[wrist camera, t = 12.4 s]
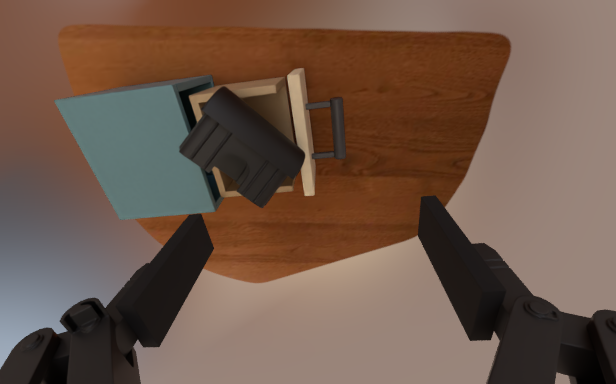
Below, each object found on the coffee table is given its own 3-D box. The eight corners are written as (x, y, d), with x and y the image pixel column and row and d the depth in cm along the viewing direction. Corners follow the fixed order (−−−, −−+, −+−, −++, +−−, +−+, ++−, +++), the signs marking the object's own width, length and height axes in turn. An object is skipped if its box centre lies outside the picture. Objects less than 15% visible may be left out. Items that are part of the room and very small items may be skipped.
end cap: (296, 149, 31) (313, 154, 25) (260, 197, 31) (268, 214, 25) (224, 90, 28) (223, 79, 22) (183, 144, 28) (170, 148, 22)
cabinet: (211, 74, 35) (171, 84, 25) (238, 175, 42) (215, 212, 32) (122, 86, 36) (53, 100, 27) (163, 182, 43) (119, 220, 33)
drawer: (337, 63, 33) (343, 68, 25) (343, 163, 39) (349, 192, 31) (215, 79, 34) (185, 88, 26) (240, 173, 40) (222, 203, 33)
